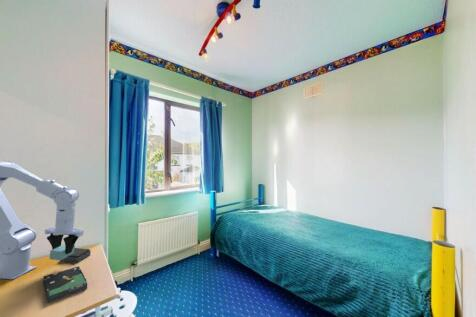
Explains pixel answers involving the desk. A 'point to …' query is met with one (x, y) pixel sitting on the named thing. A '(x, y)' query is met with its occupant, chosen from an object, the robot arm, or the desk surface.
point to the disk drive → (64, 284)
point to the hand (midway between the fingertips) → (62, 252)
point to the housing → (60, 253)
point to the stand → (77, 255)
